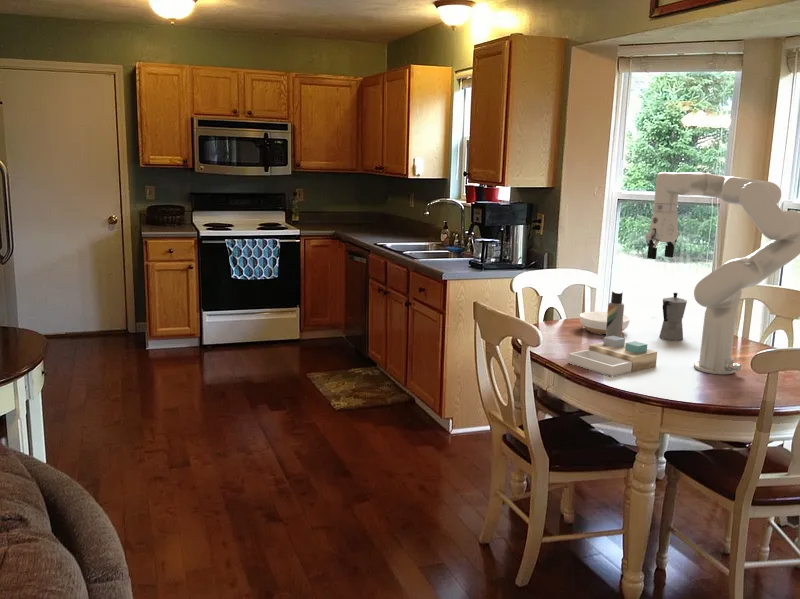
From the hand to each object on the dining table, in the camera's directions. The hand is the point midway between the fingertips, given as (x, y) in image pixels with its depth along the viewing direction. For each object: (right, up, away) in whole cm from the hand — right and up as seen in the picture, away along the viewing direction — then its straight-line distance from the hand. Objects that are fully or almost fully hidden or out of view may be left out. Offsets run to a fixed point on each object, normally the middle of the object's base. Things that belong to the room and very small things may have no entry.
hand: (660, 257), depth 256 cm
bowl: (-9, -28, +39) cm, 49 cm away
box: (-25, -37, -13) cm, 46 cm away
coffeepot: (+15, -30, +31) cm, 46 cm away
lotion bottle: (-10, -31, +21) cm, 39 cm away
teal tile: (-12, -32, -9) cm, 35 cm away
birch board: (-15, -36, -5) cm, 39 cm away
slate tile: (-17, -30, -2) cm, 35 cm away
